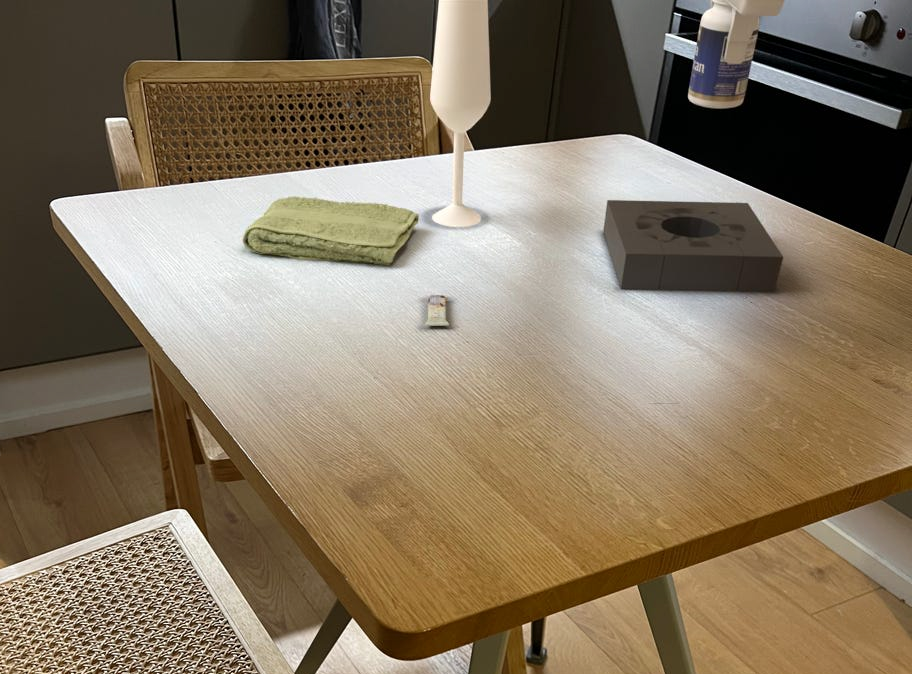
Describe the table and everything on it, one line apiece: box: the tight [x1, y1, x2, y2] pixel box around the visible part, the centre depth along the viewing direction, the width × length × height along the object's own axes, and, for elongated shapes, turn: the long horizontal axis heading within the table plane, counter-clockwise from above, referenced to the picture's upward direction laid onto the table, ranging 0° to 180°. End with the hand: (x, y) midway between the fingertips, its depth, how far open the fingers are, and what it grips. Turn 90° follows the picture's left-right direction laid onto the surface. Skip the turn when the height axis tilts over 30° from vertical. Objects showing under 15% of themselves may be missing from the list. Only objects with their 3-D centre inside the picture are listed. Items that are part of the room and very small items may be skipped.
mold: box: [602, 199, 784, 294], centre depth 105 cm, size 16×16×4 cm
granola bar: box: [424, 294, 450, 327], centre depth 95 cm, size 7×2×1 cm, turn 0°
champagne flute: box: [429, 0, 492, 228], centre depth 107 cm, size 7×7×24 cm
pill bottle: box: [687, 0, 761, 109], centre depth 92 cm, size 5×5×10 cm
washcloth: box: [242, 195, 420, 266], centre depth 108 cm, size 13×18×3 cm
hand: (724, 53), depth 92 cm, fingers closed on pill bottle, 5 cm apart
